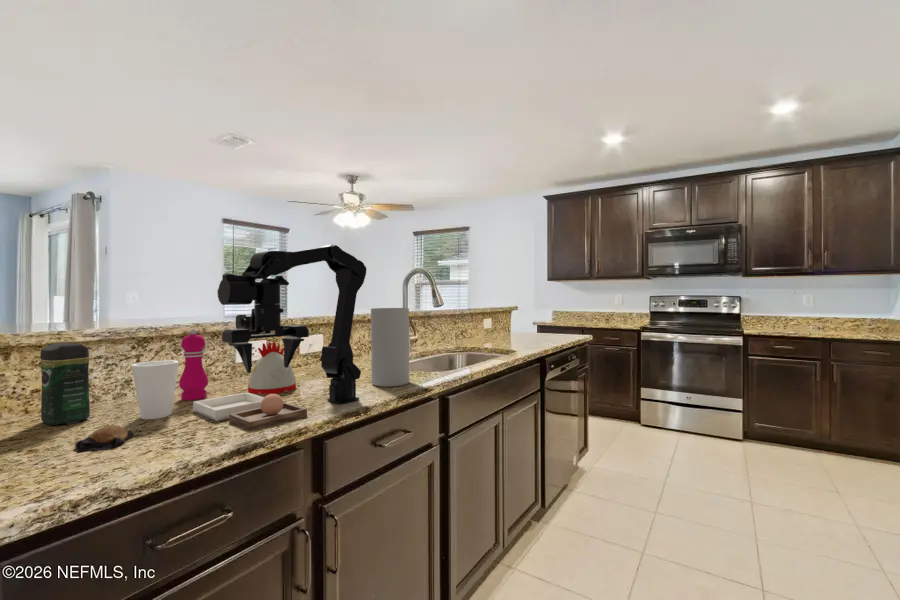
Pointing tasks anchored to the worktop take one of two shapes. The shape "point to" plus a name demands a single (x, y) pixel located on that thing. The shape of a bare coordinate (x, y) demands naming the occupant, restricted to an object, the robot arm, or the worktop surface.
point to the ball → (272, 404)
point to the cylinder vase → (390, 346)
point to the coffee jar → (65, 383)
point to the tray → (266, 416)
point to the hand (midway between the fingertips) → (268, 369)
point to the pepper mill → (193, 368)
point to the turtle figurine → (104, 439)
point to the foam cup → (155, 387)
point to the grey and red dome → (271, 373)
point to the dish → (227, 405)
